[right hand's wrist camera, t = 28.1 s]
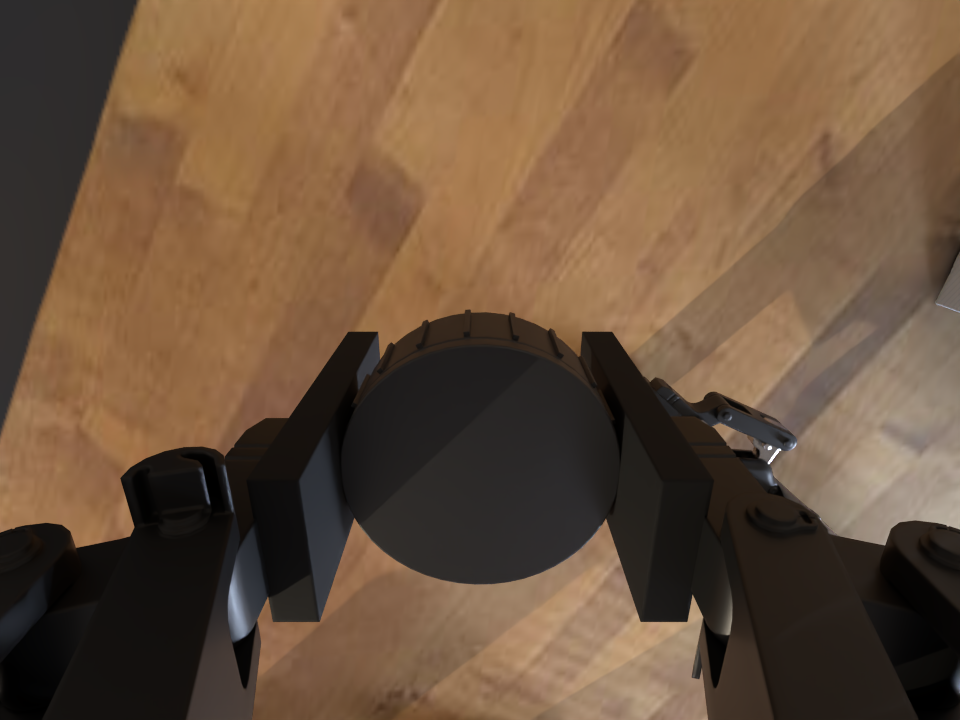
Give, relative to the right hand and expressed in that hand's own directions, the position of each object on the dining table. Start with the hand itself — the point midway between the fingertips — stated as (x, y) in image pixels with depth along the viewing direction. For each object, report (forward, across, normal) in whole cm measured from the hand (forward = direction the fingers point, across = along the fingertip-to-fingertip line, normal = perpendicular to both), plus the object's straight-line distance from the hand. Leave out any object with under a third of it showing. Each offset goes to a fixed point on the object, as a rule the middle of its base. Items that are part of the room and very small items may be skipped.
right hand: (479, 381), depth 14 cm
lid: (-4, 0, 0) cm, 4 cm away
